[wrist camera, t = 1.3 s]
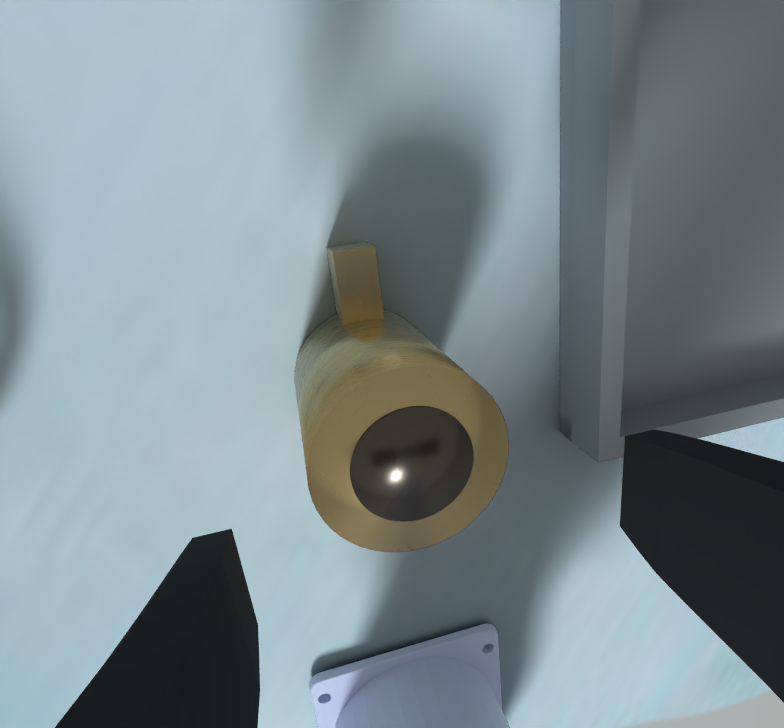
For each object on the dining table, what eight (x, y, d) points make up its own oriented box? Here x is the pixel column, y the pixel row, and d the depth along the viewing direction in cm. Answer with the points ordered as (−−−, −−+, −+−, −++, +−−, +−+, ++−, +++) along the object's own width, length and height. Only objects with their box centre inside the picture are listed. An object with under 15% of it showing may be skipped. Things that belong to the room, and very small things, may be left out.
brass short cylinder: (435, 423, 18) (514, 527, 12) (307, 450, 17) (326, 576, 11) (418, 234, 15) (503, 253, 10) (269, 255, 15) (268, 289, 9)
